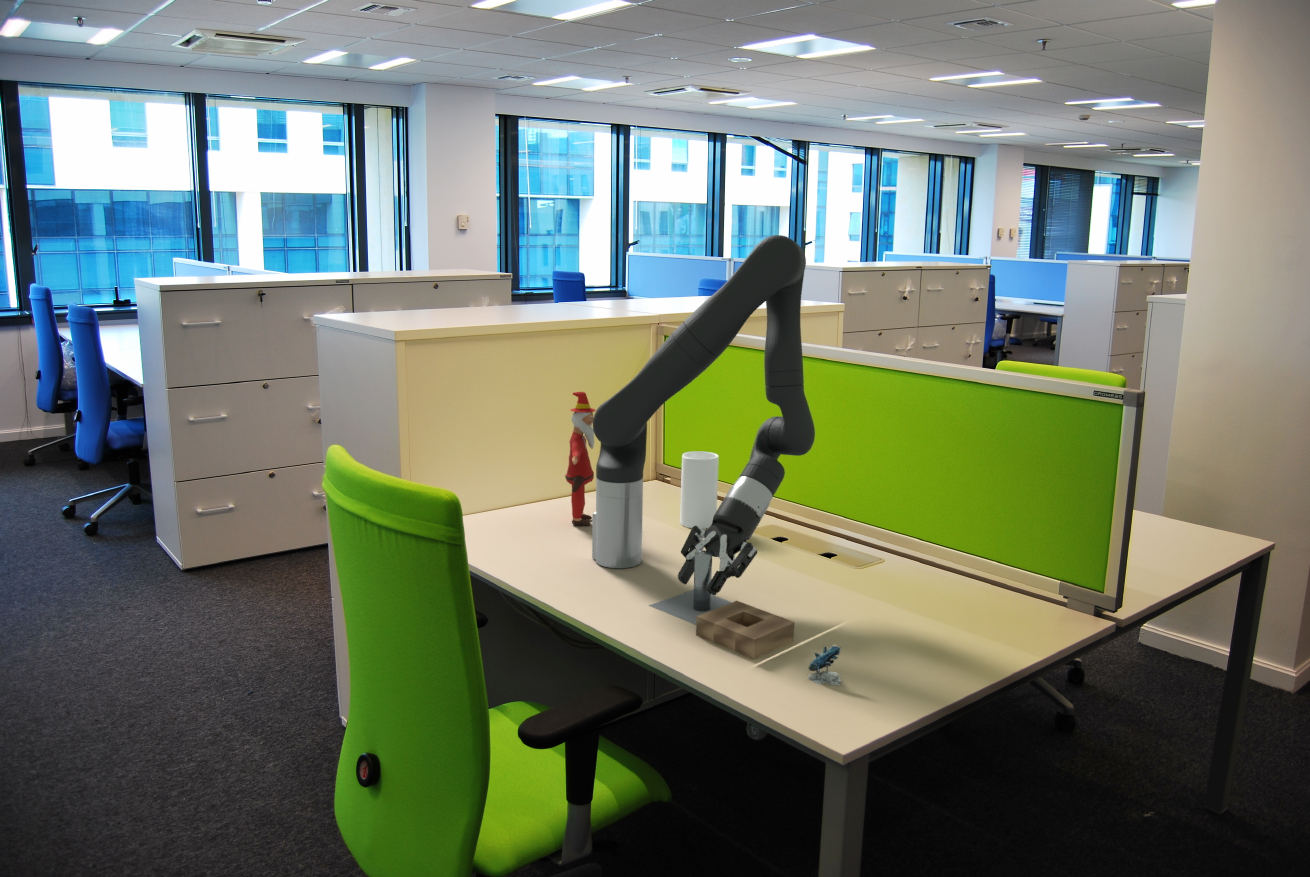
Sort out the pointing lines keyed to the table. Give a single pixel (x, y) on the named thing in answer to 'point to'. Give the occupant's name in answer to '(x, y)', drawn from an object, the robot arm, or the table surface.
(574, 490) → the figurine
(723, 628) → the hole block
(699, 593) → the peg
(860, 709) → the table surface
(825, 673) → the sculpture
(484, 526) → the table surface
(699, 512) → the cup
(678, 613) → the mat
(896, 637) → the table surface
